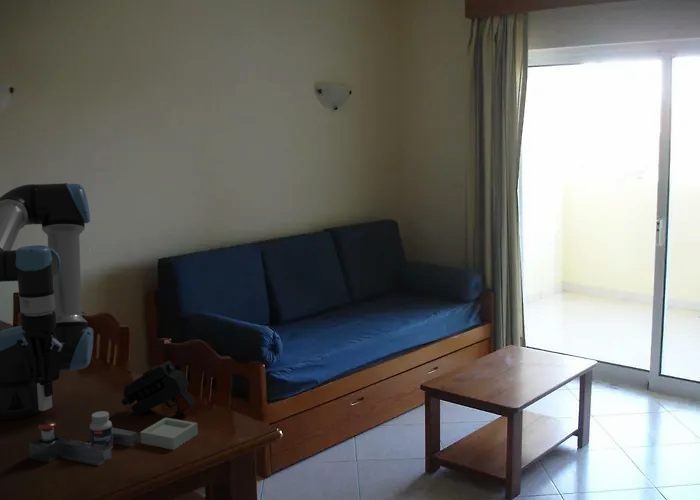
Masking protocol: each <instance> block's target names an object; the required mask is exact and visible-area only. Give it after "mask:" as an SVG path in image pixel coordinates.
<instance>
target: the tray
mask: <svg viewBox="0 0 700 500" xmlns="http://www.w3.org/2000/svg"><path fill="white" fill-rule="evenodd" d="M198 428H199V427H198V422H194V421H193V422H192V421H187V420H181V419H176V418H170V417H163V418H162V419H161V420H158V421H157V422H155V423H154V424H151V425H150V426H148V427H146V428H145V429H143V430H142V431H140V432H139V434H140V437H141V441H140V443H141V444H142V445H148V446H154V447H158V448H164V449H168V450H172V451H173V450H176V449H177V448H179V447H180V445H181V446H183V445H184V444H185V443H186V441H187V442H188V441H190V440H192V439H193V438H194V437H196V436H197V435H198V434H199V429H198ZM183 443H184V444H183Z"/></svg>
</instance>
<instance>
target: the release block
mask: <svg viewBox="0 0 700 500" xmlns="http://www.w3.org/2000/svg"><path fill="white" fill-rule="evenodd" d="M54 438H55V441H53V442H51V443H49V444H46V443H42V436H40V437H38V438H36V439H34V440H32V441H30V442H28V444H29V446H28V447H29V457H30V459H32V460H33V461H35V460H36V461H40V462H43V463H48V464H50V463H52V462H54V461H56V460H57V459H60V458H59V455H60V454H62V453H64V452H65V443H66V442H68V441H69V440H68V436H65V435H59V434H55V433H54Z"/></svg>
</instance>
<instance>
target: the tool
mask: <svg viewBox="0 0 700 500" xmlns="http://www.w3.org/2000/svg"><path fill="white" fill-rule="evenodd" d="M187 378H188V377H186V375H185V373H184V371H181V370H178V369H176V367H175V366H174V364H173V363H172V361H171V360H166V361H165V362H163V363H161V364H159V365H154V366H153V367H151V368H150V369H148V370H147V371H145V372H143V373H142V375H141V376H139V377H138V378H136V379H134V380H133V381H131V382H130V383H129V384H126V385H125V387H124V390H123V397H124V398H122V399H121V401H120V402H121V404H122V405H123V406H127V405H129V406H130V405H132V404H133V403H134V404H133V405H132V406H131V407H130V408H131V410H132V412H133V414H134V415H136V416H140V415H142V414H144V413H146V412H147V411H150V410H152V409H154V408H155V407H158V406H160V405H162V404H165V405H166V407H168V408H169V409H170V408H174V407H175V406H176V408H177V410H176V411H175V412H174V414H175V415H176V416H177V417H180V416H181V415H182V414H183V413H184V412H186V411H187V410H188V409H190V408H191V407H192V406H193V405H194V404H195V399H193V397H192V396H191V395H190V393H189V392H188V391H187V389H189V385H190V383H189V381H188V379H187ZM169 401H172V403H173V404H172V405H171V404H170V403H169ZM135 402H136V403H135Z"/></svg>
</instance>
